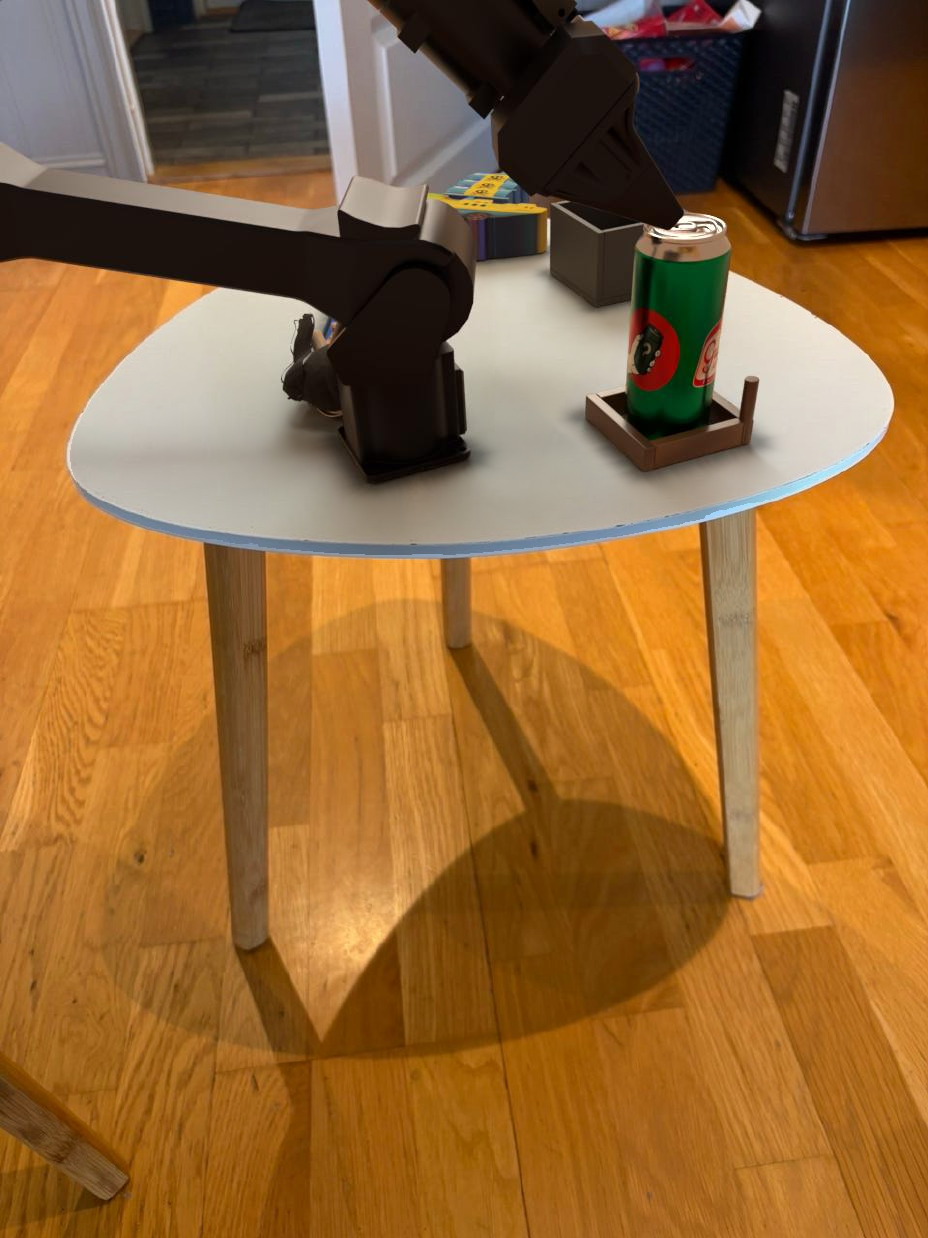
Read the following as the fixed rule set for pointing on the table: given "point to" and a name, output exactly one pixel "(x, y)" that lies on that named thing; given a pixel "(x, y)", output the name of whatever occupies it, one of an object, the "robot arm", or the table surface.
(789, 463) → the table surface
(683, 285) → the soda can
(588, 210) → the open-top storage bin
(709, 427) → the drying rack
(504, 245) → the toy
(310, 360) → the toy figure
